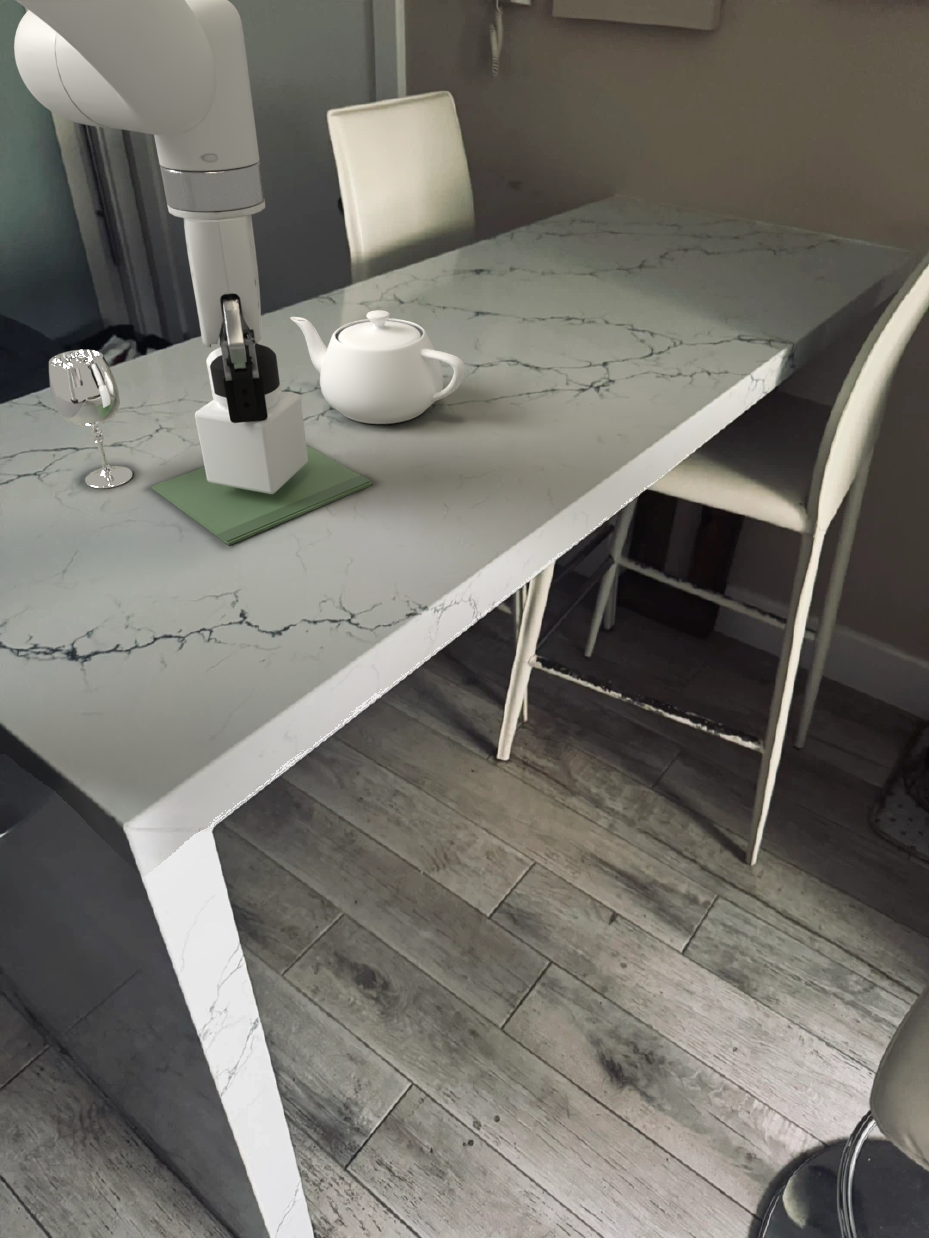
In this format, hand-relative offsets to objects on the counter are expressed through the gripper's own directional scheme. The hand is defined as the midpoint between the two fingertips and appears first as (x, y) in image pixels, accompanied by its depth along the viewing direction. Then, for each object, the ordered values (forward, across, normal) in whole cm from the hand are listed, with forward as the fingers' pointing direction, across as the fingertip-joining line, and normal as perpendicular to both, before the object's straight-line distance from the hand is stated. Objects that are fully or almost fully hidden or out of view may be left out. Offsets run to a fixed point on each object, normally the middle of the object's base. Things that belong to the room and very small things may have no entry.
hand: (247, 400), depth 79 cm
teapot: (+9, -16, +14) cm, 23 cm away
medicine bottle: (+8, 0, 0) cm, 8 cm away
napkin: (+9, 0, 0) cm, 9 cm away
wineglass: (+9, -6, -14) cm, 18 cm away
